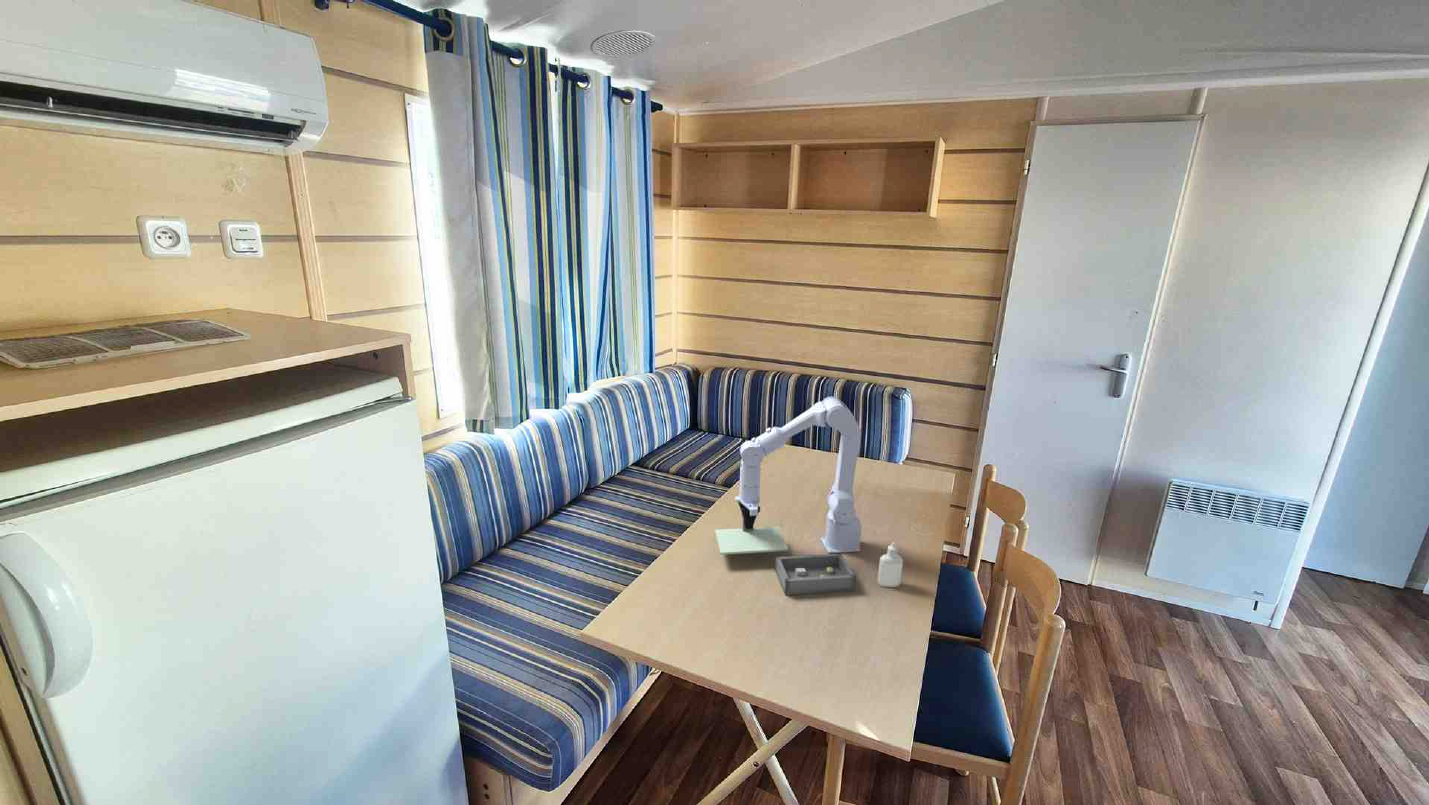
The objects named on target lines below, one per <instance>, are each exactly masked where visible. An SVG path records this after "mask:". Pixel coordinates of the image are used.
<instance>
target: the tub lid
mask: <svg viewBox="0 0 1429 805" xmlns="http://www.w3.org/2000/svg"><path fill="white" fill-rule="evenodd" d="M714 531H715V537H716V541H717V545H718V548H719V549H718V550H719V553H720V555H737V554H751V553H752V554H754V553H770V552H772V553H773V552H788V551H789V547H788V545H787V542H786V541H785V538H784V535H783V534H782V531H781V529H780V527H779V526H762V527H753V528H752V529H745V526H744V518H743V517H742V525H741V528H724V529H720V528H719V529H714Z"/></svg>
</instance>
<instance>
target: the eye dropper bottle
mask: <svg viewBox="0 0 1429 805" xmlns="http://www.w3.org/2000/svg"><path fill="white" fill-rule="evenodd" d="M898 549H899V548H898V547H897V545H896V543H895V541H894V542H891V545H888V546H887V552H886V553H885V554H882V555H881V556H880V557H879V564H878V572H877V574H878V575H877V583H878V585H879V586H881V587H884V588H895V587H899V586H900V585H901V580H902V573H903V564H904V560H903V557H902V556H901V555H899V554H898V551H899V550H898Z"/></svg>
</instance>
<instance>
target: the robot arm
mask: <svg viewBox="0 0 1429 805" xmlns="http://www.w3.org/2000/svg"><path fill="white" fill-rule="evenodd" d="M826 424H827V425H828V426H829V427H830V428H832V429H835V430H837V431H838V432H839V433H840V438H839V445H838V446H839V448H838V454H837V462H836V470H835V477H834V478H835V479H834V484H833V485H831V491H830V492H829V494H828V496H827V498H826V503H827V505H828V507H829V511H828V513H827V514H826V528H825V536H823V537H822V536H821V537H820V540H821V543H822V544H823V546H824V548H825V549H826V551H827V554H840V553H854V552H861V548H860V547H861V546H860V545H861V536H862V525H861V521H860V518H859V517H858V516H856V514H857V513H856V509H855V506H854V504H855V498H854V490H853V487H854V481H855V474H856V466H857V462H858V460H857V459H858V453H859V446H860V438H861V428H860V426H859V424H858V422H857V420H856V418H855V416H854V415H853V413H852V412H851V411H850V409H849V408H848V407H847V405H846V404H845V403H844V402H843V401H842V400H840V399H839V398H838V397H836V396H827V397H826V398H824V399H823V400H822V401H818V402H816V403H814V405H812V406H811V407H810V408H809V409H807V410H806V411H804V412H803V413H801V414H799V415H798V416H796V417H795V418H794V419H792V420H791V421H789V422H787V423H786V424H785V425H783V426H782V427H778V426H773V427H772V428H771V427H768V428H766V429H765V432H764V433H762V434H760V435H759V436H757V437H752V438H751V440H747V441H745V442H743V443H742V444H741V446H740V448H739V454H740V457H741V461H740V468H739V469H740V470H739V492H738V493H739V494H738V496H736V495H735V497H734V501H735V502H736V503H737V504H738V506H739V509H740V511H741V516H742V517H741V518H742V519H743V518H744V526H745V529H752V528H754V525H755V521H756V519H757V517H758V515H759V513H760V512H761V507H760V505H759V504H760V501H761V497H760V492H761V490H760V489H761V476H762V475H761V474H762V472H761V465H762V462H763V459H764V458H765V457H767V456H769V455H771V454H772V453H774V452H775V451H777V450H779V449H781V448H782V447H784V446H785V445H786V444H787V441H788V439H789V438H791V437H793V436H795V435H797V434H798V433H801V432H802V431H804V430H806V429H808V428H810V427H812V426H817V427H824V428H825V427H826Z"/></svg>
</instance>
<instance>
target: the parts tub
mask: <svg viewBox="0 0 1429 805" xmlns="http://www.w3.org/2000/svg"><path fill="white" fill-rule="evenodd" d="M774 562H775V563H774V564H775V566H774V570H775V571H774V572H775V573H776V577H777V579H778V581H779V583H780V586H781V589H782V591H783V594H784V595H785V596H790V595H807V594H821V593H822V594H824V593H838V592H841V593H842V592H853V591H855V585H856V575H855V573H854V572H853V571H852V569H851V567H850V566H849V564H848V563H847V561H846V559H845V558H844V557H843V554H842V553H826V554H825V553H823V554H812V555H809V554H808V555H793V556H791V555H790V556H776V557H775V561H774Z"/></svg>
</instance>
